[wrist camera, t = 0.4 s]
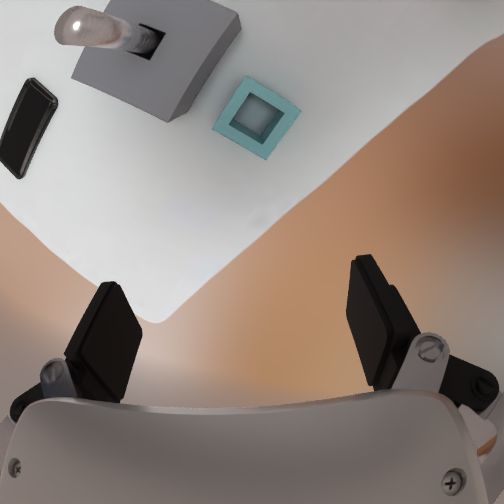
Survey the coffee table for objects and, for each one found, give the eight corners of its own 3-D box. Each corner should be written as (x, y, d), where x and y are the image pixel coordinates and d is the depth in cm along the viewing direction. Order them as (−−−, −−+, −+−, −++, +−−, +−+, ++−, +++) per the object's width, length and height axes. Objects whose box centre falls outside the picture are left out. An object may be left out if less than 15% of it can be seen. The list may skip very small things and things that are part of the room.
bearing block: (153, -8, 21) (128, -26, 14) (241, 28, 25) (237, 13, 18) (105, 75, 27) (70, 78, 20) (186, 112, 30) (167, 122, 24)
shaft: (148, 29, 20) (67, 3, 8) (168, 37, 20) (96, 10, 9) (136, 49, 21) (48, 40, 9) (155, 58, 22) (76, 49, 10)
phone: (57, 102, 27) (20, 182, 33) (62, 101, 28) (24, 179, 34) (27, 75, 24) (-6, 155, 30) (32, 74, 25) (-2, 152, 31)
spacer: (247, 77, 28) (246, 76, 24) (294, 106, 30) (301, 110, 26) (217, 122, 31) (211, 128, 27) (264, 149, 33) (265, 160, 29)
